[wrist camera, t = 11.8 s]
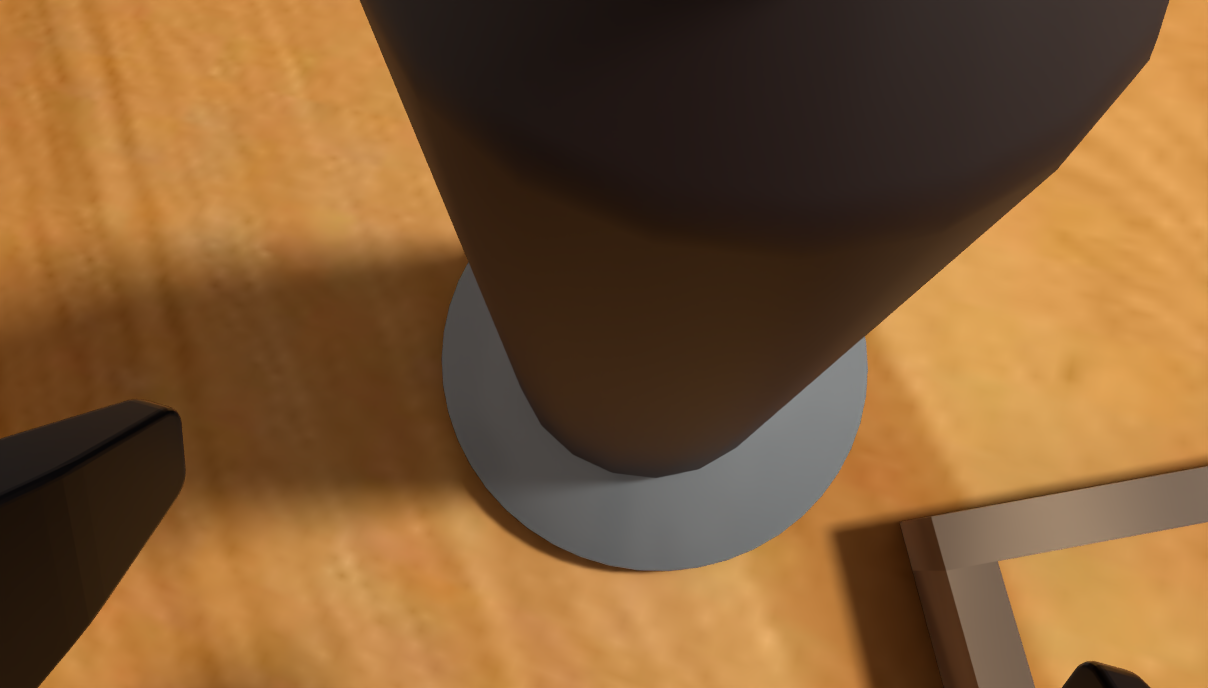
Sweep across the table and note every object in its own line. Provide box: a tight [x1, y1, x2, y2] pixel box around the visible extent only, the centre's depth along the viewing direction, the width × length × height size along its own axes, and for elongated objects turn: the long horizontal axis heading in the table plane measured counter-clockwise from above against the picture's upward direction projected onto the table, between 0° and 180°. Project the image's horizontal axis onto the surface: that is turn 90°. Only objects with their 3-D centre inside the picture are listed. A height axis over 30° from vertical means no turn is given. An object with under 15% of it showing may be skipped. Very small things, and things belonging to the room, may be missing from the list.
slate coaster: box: [442, 262, 868, 571], centre depth 21 cm, size 11×11×1 cm
